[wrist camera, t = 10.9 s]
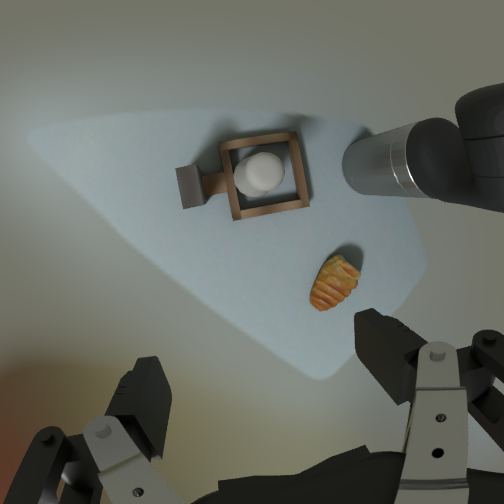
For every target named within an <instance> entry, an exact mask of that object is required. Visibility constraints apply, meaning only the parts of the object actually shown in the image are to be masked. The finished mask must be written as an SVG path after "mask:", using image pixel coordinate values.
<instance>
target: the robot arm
mask: <svg viewBox="0 0 504 504" xmlns="http://www.w3.org/2000/svg"><path fill="white" fill-rule="evenodd" d="M455 114H456V118H457V122H458V126H459V128H458V127H457V126H456V125H455V124H453V123H452V122H450V121H448V120H446V119H443V118H430V119H426V120H423V121H419V122H416V123H413V124H409V125H406V126H403V127H400V128H396V129H393V130H391V131H387V132H384V133H380V134H377V135H374V136H371V137H368V138H365V139H362V140H359V141H356V142H354V143H353V144H351V145H350V146H349V147H348V148H347V150H346V151H345V153H344V156H343V161H342V169H343V173H344V177H345V179H346V181H347V182H348V184H349V185H350V186H351V187H352V188H353V189H354V190H355V191H357V192H358V193H361V194H364V195H379V196H399V197H415V198H416V197H417V198H431V199H439V200H441V201H444V202H449V203H456V204H462V205H468V206H473V207H477V208H482V209H487V210H491V211H496V212H502V213H504V83H501V84H496V85H492V86H486V87H483V88H479V89H476V90H474V91H471V92H469V93H467V94H466V95H464V96H462V97H461V98H460V99H459V100H458V101H457V103H456V105H455ZM354 331H355V350H356V353H357V356H358V358H359V359H360V361H361V362H362V363H363V364H364V365H365V367H366V368H367V369H368V370H369V371H370V373H371V374H372V375H373V376H374V378H375V379H376V380H377V381H378V382H379V383H380V385H381V386H382V387H383V388H384V390H385V391H386V392H387V393H388V394H389V396H390V397H391V398H392V399H393V401H394V402H395V403H396V404H397V405H400V404H402V403H404V402H406V401H409V402H410V403H411V404H410V409H409V414H408V421H407V426H406V431H405V436H404V441H403V445H402V449H401V452H393V451H387V452H386V451H382V452H373V453H370V452H369V451H368V449H367V448H366V446H365V445H363V446H360V447H358V448H355V449H352V450H350V451H347V452H344V453H341V454H338V455H335V456H332V457H330V458H328V459H326V460H324V461H323V462H321V463H319V464H317V465H315V466H313V467H311V468H309V469H307V470H305V471H303V472H301V473H299V474H295V475H282V476H281V475H280V476H249V477H243V478H236V479H228V480H220V481H218V488H219V490H218V491H215V492H212V493H210V494H207V495H205V496H203V497H201V498H199V499H198V500H196V501H194V502H193V503H191V504H504V473H496V472H488V471H482V470H476V469H470V468H467V456H468V412H469V413H470V414H471V416H472V417H473V418H474V419H475V420H476V421H477V422H478V423H479V424H480V425H481V427H482V428H483V429H484V430H485V431H486V432H487V433H488V434H489V435H490V437H491V438H492V439H493V440H494V441H495V442H496V443H497V445H498V446H499V447H500V448H501V449H502V450H503V451H504V395H503V394H502V393H501V392H500V391H499V390H498V389H496V388H495V387H494V386H493V383H494V380H495V377H497V378H498V379H499V380H500V381H502V382H503V383H504V335H503V334H501V333H499V332H497V331H494V330H482V331H479V332H477V333H476V334H475V335H474V336H473V340H472V345H471V346H468V347H465V348H461V349H457V350H456V349H455V348H454V347H453V346H452V345H450V344H448V343H445V342H431V343H428V342H427V341H426V340H424V339H423V338H422V337H420V336H419V335H418V334H416V333H415V332H414V331H412V330H410V329H409V328H408V327H407V326H404V324H403V323H402V322H400V321H399V320H398V319H395V318H393V317H389V316H383V315H381V314H380V313H379V312H377V311H376V310H375V309H373V308H370V309H367V310H364V311H361V312H357V313H355V315H354ZM171 402H172V393H171V389H170V386H169V383H168V381H167V378H166V376H165V374H164V371H163V369H162V366H161V364H160V361H159V360H158V357H156V356H151V357H143V358H138V359H137V361H136V364H135V366H134V368H133V370H132V371H128V372H127V373H126V374H125V375H124V376H123V377H122V378H121V380H120V382H119V384H118V386H117V389H116V391H115V393H114V395H113V397H112V400H111V402H110V404H109V406H108V408H107V411H106V413H105V415H104V416H101V417H98V418H95V419H94V420H92V421H91V422H89V423H88V424H87V425H86V427H85V429H84V432H83V434H78V435H73V436H68V437H67V436H66V435H65V434H64V432H63V431H62V430H61V429H60V428H59V427H55V426H50V427H46V428H44V429H42V430H40V431H39V432H38V433H37V434H36V435H35V437H34V438H33V440H32V442H31V444H30V446H29V448H28V450H27V452H26V454H25V456H24V458H23V460H22V462H21V464H20V466H19V469H18V471H17V473H16V475H15V477H14V479H13V482H12V484H11V486H10V488H9V491H8V493H7V496H6V498H5V501H4V503H3V504H100V499H101V494H102V489H103V488H104V489H105V491H106V492H107V494H108V496H109V498H110V500H111V501H112V503H113V504H185V502H184V501H183V500H182V499H181V498H180V497H179V496H178V495H177V494H176V493H175V492H174V491H173V489H172V488H171V487H170V486H169V485H168V484H167V483H166V482H165V481H164V479H163V478H162V477H161V476H160V475H159V473H158V472H157V471H156V470H155V469H154V467H153V466H152V465H151V464H150V462H151V460H161V459H162V456H163V449H164V444H165V438H166V431H167V425H168V419H169V413H170V407H171ZM61 478H62V479H63V480H64V481H65V486H64V489H63V492H62V495H61V499H60V502H59V501H58V500H57V496H56V491H57V488H58V485H59V482H60V479H61Z"/></svg>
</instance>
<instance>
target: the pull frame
mask: <svg viewBox="0 0 504 504" xmlns="http://www.w3.org/2000/svg"><path fill="white" fill-rule="evenodd" d="M281 142H288V147H289V152H290V157H291V162H292V168H293V173H294V179H295V184H296V190H297V196H298V200H292V201H287V202H281V203H276V204H270V205H265V206H259V207H254V208H249V209H244V210H240V207H239V202H238V197H237V192H236V186H235V182H234V176H233V170H232V165H231V160H230V155H229V151H230V150H235V149H241V148H247V147H253V146H260V145H266V144H273V143H281ZM219 149H220V155H221V160H222V165H223V171H224V172H218V173H213V174H209V175H204V176H201V171H200V169H199V167H198V166H197V165H196V164H193V165H189V166H184V167H180V168H176V174H177V180H178V185H179V190H180V195H181V201H182V206H183V209H187V208H191V207H196V206H201V205H204V204H206V203H207V202H206V197H205V196H209V195H214V194H219V193H224V192H228V197H229V202H230V207H231V212H232V218H233V221H235V220H240V219H245V218H250V217H255V216H260V215H266V214H271V213H276V212H282V211H287V210H293V209H298V208H304V207H309V206H310V204H309V198H308V192H307V186H306V180H305V175H304V169H303V164H302V159H301V153H300V148H299V143H298V138H297V133H296V131H294V132H285V133H277V134H269V135H262V136H255V137H249V138H243V139H237V140H231V141H225V142H220V143H219Z"/></svg>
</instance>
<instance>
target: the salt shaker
mask: <svg viewBox="0 0 504 504" xmlns="http://www.w3.org/2000/svg"><path fill="white" fill-rule="evenodd" d="M284 174H285V170H284V165H283V163H282V161H281V160H280V159H279V157H277V156H276V155H274V154H272V153H266V152H260V153H258V154H255V155H253V156H250V157H248V158H245V159H243V160H242V161H241V162H240V163H239V164H238V165H237V166H236V168H235V172H234V182H235V185H236V187H237V188H238V189H239V191H240V192H241V193H243V194H245V195H247V196H249V197H260V196H262V195H264V194H267V193H268V191H270V190H273V189H275V188H277V187H278V186H279V185H280V183H281V182H282V181H283V178H284Z"/></svg>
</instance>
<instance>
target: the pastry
mask: <svg viewBox="0 0 504 504" xmlns="http://www.w3.org/2000/svg"><path fill="white" fill-rule="evenodd" d="M360 274H361V273H360V272H359V271H358V270H357V269H356V268H355V267H354V266H352V265H351V264H349V263H348V262H347V261H346V260H345V259H344V257H342V256H341V255H335V256H333V257H332V258H330V259H329V260H328V261H326V262H325V263H324V265H323V266H322V267H321V269H320V271H319V273H318V275H317V277H316V280H315V282H314V284H313V287H312V289H311V292H310V303H311V304H312V305H313V306H314V307H315V308H316V309H317V310H319V311H324V310H328V309H330V308H332V307H335V306H336V305H337V304H338V303H339V302H342V301H343V300H344V298H345V297H348V296H349V295H350V293H351V290H352V289H355V288H356V287H357V285H358V279H359V278H360Z"/></svg>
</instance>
